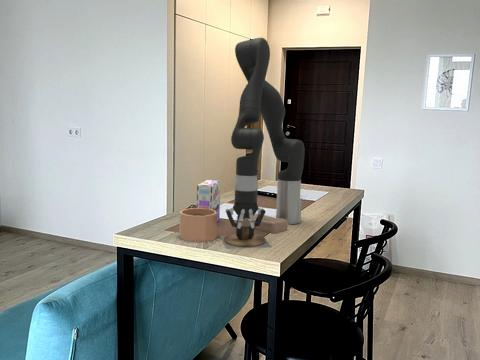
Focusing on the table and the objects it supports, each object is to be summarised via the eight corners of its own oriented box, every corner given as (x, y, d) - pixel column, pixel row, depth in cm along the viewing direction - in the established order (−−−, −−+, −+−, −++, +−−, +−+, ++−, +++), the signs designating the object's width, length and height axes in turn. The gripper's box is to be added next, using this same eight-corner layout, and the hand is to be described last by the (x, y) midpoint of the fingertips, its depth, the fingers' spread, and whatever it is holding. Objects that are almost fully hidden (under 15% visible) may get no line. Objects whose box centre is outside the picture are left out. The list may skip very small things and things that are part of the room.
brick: (240, 226, 179) (241, 214, 178) (255, 223, 185) (255, 211, 184) (273, 236, 167) (274, 223, 166) (288, 232, 173) (289, 219, 172)
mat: (260, 235, 166) (261, 234, 166) (271, 248, 151) (271, 246, 151) (219, 236, 163) (219, 235, 163) (226, 249, 148) (226, 248, 148)
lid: (259, 234, 165) (260, 221, 164) (270, 246, 152) (270, 232, 151) (221, 235, 162) (221, 222, 162) (227, 247, 149) (228, 233, 148)
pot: (213, 232, 169) (213, 207, 167) (218, 241, 156) (219, 215, 155) (178, 233, 166) (178, 208, 165) (181, 243, 154) (181, 216, 153)
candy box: (211, 228, 173) (211, 185, 171) (195, 227, 174) (196, 184, 172) (220, 220, 187) (220, 179, 184) (205, 219, 188) (206, 179, 185)
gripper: (264, 186, 159) (262, 234, 162) (223, 186, 156) (222, 236, 159) (269, 190, 152) (267, 241, 155) (227, 190, 149) (226, 242, 152)
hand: (244, 238), depth 157 cm, fingers closed on lid, 3 cm apart
